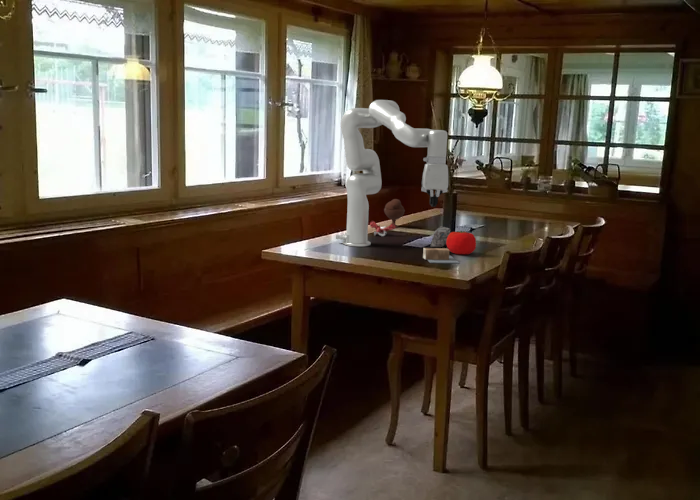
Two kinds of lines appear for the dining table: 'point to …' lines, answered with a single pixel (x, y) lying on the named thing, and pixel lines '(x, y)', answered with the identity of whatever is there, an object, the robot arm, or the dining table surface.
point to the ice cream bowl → (394, 210)
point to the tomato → (461, 242)
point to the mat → (451, 260)
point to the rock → (440, 237)
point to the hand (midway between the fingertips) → (433, 206)
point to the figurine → (381, 228)
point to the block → (436, 253)
